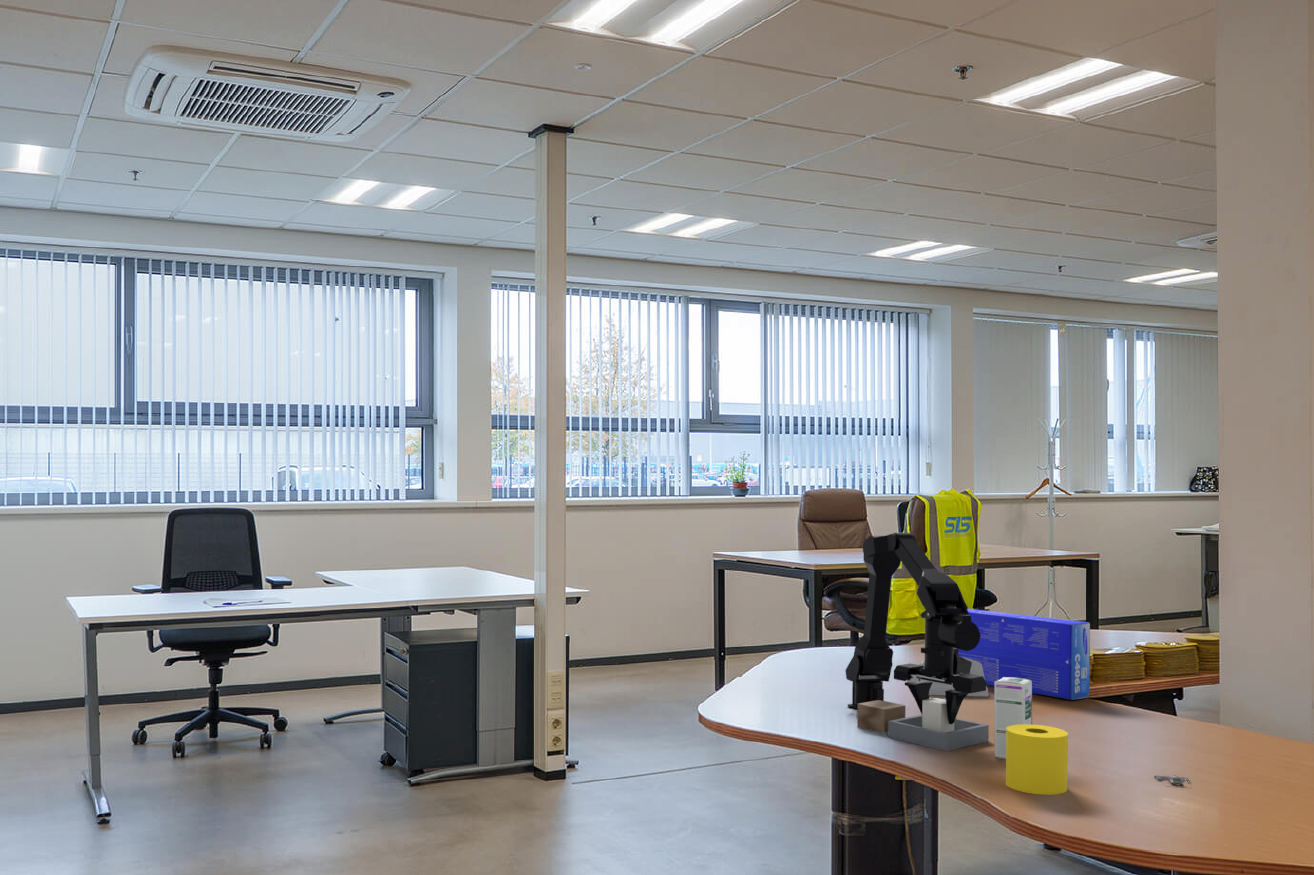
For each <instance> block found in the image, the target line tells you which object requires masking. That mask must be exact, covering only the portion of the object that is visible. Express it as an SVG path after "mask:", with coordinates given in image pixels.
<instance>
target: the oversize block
mask: <svg viewBox="0 0 1314 875" xmlns="http://www.w3.org/2000/svg"><path fill="white" fill-rule="evenodd" d="M856 716H857V721H856V722H857V723H856V724H857V728H861V729H865V730H869V731H874V732H878V733H882V734H887V733H888V721H891V720H896V719H902V718H906V705H904V704H900V703H895V702H890V701H886V700H884V701H882V700H876V701H870V702H865V703H859V704H858V709H857V715H856Z"/></svg>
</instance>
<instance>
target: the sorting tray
mask: <svg viewBox="0 0 1314 875" xmlns="http://www.w3.org/2000/svg"><path fill="white" fill-rule="evenodd" d="M989 727H990V726H989V724H986V723H981V722H976V721H971V720H967V719H963V718H957V717H956V719H955V721H954V731H951V732H946V733H945V732H941V731H936V730H932V729H927V728H923V727H922V714H918V715H913V716H908V717H907V716H906V717H905V718H902V719H896V720H891V721H888V736H887V737H888V738H891V739H895V740H900V741H903V742H908V743H912V744H915V745H919V746H923V747H929V748H931V749H932V748H933V749H935V750H940V751H944V752H948V751H951V750H953V751H954V750H956V749H961V748H964V747H965V748H966V747H970V746H973V745H974V746H975V745H977V744H982V743H986V742H989V740H990V739H989V737H990V736H989V733H990V732H989Z"/></svg>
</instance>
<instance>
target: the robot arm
mask: <svg viewBox="0 0 1314 875" xmlns="http://www.w3.org/2000/svg"><path fill="white" fill-rule="evenodd" d="M862 552H863V562H864V565H865V566H866V568H867V571H868V574H869V576H868V585H867V597H866V606H865V618H864V628H863V635H862V636H861V638H860V639H859V641H858V642H857V643H856V644H855V646H854V652H853V656H852V658H851V659H850V661H849V663H848V664H847V666H846V668H845V670H844V671H845V678H846V680H848V681H850V682H852V693H851V694H852V695H851V696H852V699H851V700H852V703H848V704H847V708H852V709H857V710H858V704H859V703H865V702H870V701H876V700H882V701H885V700H884V698H885V689H884V688H883V687H884V685H883V684H884V682H890V678H891V672H892V667H893V656H894V651H893V648H891V647H890V646H889V643H888V641H887V637H886V636H887V627H888V618H889V616H888V615H889V606H890V598H891V597H890V596H891V587H892V577H893V575H894V574H895V573H896V571H897V570H898V569H899V568H900V567H901V563H902V565H903V566H904V568H905V569H906V570H907V572H908V573H909V574H910V576H911V577H912V579H913V581H915V583H916V585H917V590H916V595H917V597H918V599H919V602H920V603H921V605H922V607H923V608H924V609H925V610H924V611H922V612H921V614H920V618H922V619H924V646H922V647H920V653H921V654H924V661H925V668H924V666H922V665H920V664H915V663H911V662H910V663H905V664H903V663H902V664H897V665H896V666H895V668H894V670H893V679H894V680H897V681H902V682H904V686H907V687H908V689H909V691H910V693H911V695H912V697H913V699H914V700H915V702H916V704H917V707H918V710H919V711H920V713H921V714H920V715H922V702H923V700H927V699H930V695H929V690H930V688H931V685H932V683H933V682H939V683H944V684H949V685H952V690H947V691H945V695H944V696H945V700H946V706H947V716H948V721H949V724H953V723H954V721H955V719H956V718H957V715H958V714H959V711H960V708H961V706H962V703H963V701H964V699H965V698H966V697H968V696H967V695H968V694H969V693H975V692H981V691H986V680H985V679H984V677H983V676H979V675H973V674H970V670H971V665H972V662H971V661H969V660H967V659H964V658H962V657H959V651H958V649H961V650H964V651H970V650H972V649H974V648H975V647H976V646H977V645H978V643H979V641H980V632H979V629H978V627H977V626H976V625H975V624H974V623H973V622H971V615H969V613H968V610H967V609H969V607H968V606H967V603H966V602H965V599H964V597H963V593H962V592H961V589H960V587H959V585H958V584H957V582H956V581H955V580H953V579H952V577H950V576H949V575H948V574H946V573H943V572H941V571H940V570H938V569H937V568H936V567H935V566H934V564H933V563H932V561H931V560H930V559H929V557H928V556H927V555H926V553H925V552H924V551H923V549H922V548H921V547H920V545H919V544H918V543H917V540H916V536H915V535H914V534H913V533H910V532H893V533H891V534H890V533H889V534H887V535H869V536H868V537H867V538H866V539H865V540H864V541H863V544H862ZM954 675H958V676H954ZM932 676H933V677H932ZM942 678H943V679H942ZM927 680H928V681H927ZM930 681H933V682H930Z"/></svg>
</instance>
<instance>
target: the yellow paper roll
mask: <svg viewBox="0 0 1314 875" xmlns="http://www.w3.org/2000/svg"><path fill="white" fill-rule="evenodd" d="M1068 737H1069V733H1068V732H1067V731H1066V730H1064V729H1061V728H1059V727H1054V726H1048V725H1041V724H1032V725H1030V724H1019V725H1011V726H1008V727H1007V728H1006V759H1005V785H1006V786H1007V787H1008V788H1010V789H1013V790H1016V791H1018V792H1023V793H1027V794H1034V795H1045V796H1047V795H1049V796H1051V795H1059V794H1060V795H1061V794H1064V793H1067V791H1068V776H1069V775H1068V772H1069V769H1068V766H1069V764H1068V763H1069V762H1068V761H1069V760H1068V759H1069V758H1068V757H1069V755H1068V751H1069V750H1068V749H1069V746H1068V744H1069V738H1068Z"/></svg>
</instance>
